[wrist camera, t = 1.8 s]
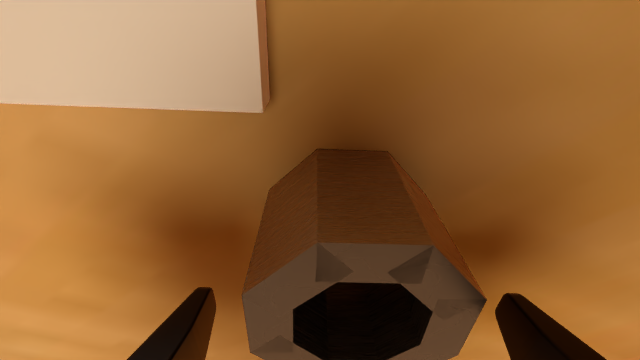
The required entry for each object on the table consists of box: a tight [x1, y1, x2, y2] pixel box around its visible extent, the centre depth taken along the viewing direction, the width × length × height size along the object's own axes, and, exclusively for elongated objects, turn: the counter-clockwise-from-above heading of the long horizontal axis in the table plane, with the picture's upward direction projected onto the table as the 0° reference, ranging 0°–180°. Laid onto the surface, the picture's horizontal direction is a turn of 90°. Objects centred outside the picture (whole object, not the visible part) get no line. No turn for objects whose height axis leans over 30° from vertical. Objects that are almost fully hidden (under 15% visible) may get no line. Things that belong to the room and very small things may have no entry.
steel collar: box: [242, 149, 487, 360], centre depth 10 cm, size 6×6×5 cm
